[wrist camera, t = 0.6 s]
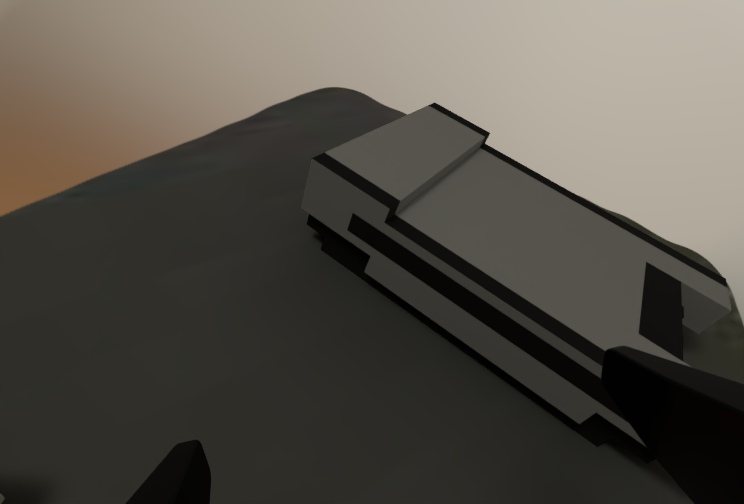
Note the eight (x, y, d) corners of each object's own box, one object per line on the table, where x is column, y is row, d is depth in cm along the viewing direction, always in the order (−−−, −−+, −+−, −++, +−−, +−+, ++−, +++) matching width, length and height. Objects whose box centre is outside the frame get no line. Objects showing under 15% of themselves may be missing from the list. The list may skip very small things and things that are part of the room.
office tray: (663, 509, 27) (781, 462, 21) (293, 241, 34) (311, 158, 29) (667, 324, 42) (737, 269, 36) (408, 166, 49) (434, 102, 44)
